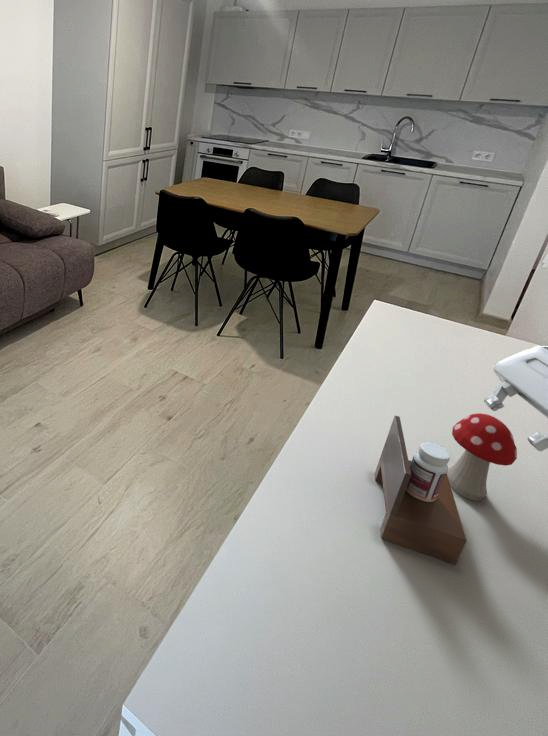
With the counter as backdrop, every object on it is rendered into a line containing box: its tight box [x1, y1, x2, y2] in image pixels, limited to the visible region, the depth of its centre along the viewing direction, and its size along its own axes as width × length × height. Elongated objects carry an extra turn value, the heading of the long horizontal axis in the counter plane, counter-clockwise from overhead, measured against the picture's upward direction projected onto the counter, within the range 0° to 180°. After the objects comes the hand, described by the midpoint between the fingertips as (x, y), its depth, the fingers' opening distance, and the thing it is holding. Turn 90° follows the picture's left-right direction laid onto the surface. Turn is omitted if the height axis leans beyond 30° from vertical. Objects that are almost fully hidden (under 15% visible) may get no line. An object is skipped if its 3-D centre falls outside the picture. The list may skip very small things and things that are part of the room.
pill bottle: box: [406, 441, 451, 502], centre depth 79 cm, size 5×5×8 cm
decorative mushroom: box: [447, 412, 518, 501], centre depth 87 cm, size 10×9×15 cm
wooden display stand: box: [374, 415, 468, 566], centre depth 80 cm, size 10×16×13 cm, turn 155°
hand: (509, 424), depth 76 cm, fingers open, 8 cm apart
